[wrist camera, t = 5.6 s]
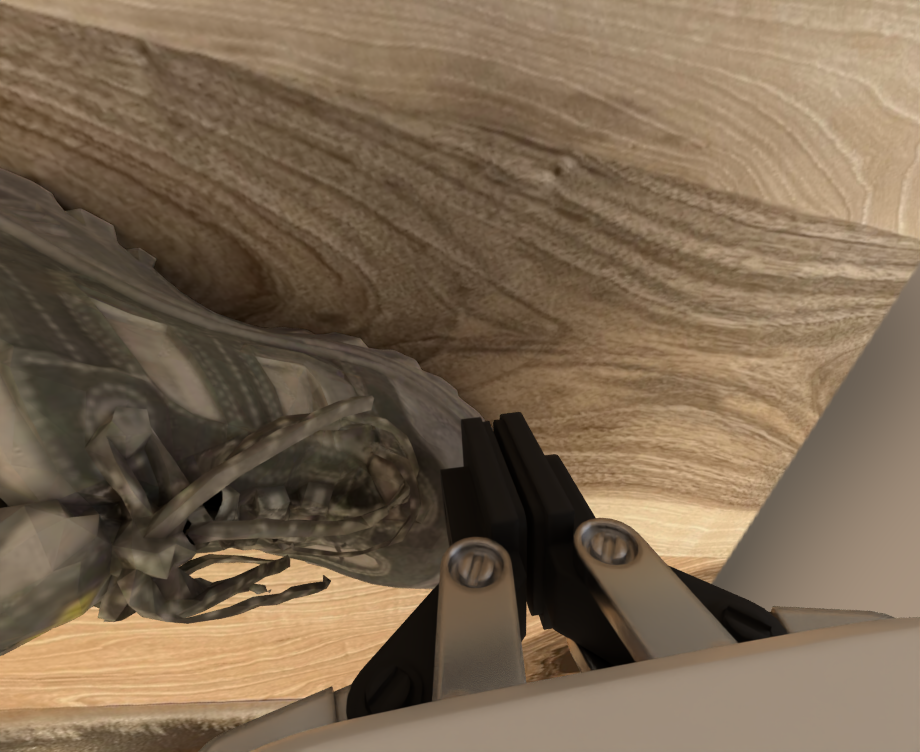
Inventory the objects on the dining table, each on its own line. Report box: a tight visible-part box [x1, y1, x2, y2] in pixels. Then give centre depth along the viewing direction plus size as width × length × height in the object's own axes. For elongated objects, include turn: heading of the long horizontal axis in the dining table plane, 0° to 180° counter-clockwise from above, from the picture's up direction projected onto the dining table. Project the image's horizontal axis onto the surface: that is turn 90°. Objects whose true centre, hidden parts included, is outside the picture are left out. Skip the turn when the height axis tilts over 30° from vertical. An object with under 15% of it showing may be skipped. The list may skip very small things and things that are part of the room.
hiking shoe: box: [0, 168, 493, 656], centre depth 12 cm, size 9×21×12 cm, turn 58°
